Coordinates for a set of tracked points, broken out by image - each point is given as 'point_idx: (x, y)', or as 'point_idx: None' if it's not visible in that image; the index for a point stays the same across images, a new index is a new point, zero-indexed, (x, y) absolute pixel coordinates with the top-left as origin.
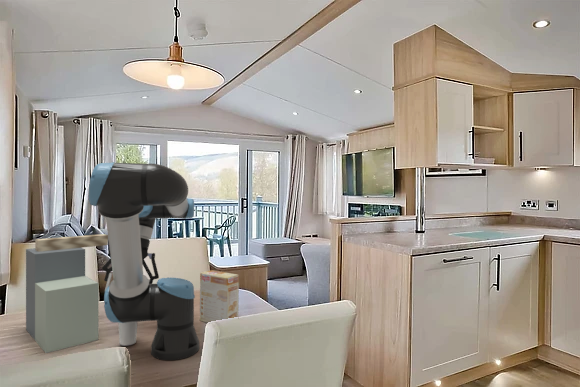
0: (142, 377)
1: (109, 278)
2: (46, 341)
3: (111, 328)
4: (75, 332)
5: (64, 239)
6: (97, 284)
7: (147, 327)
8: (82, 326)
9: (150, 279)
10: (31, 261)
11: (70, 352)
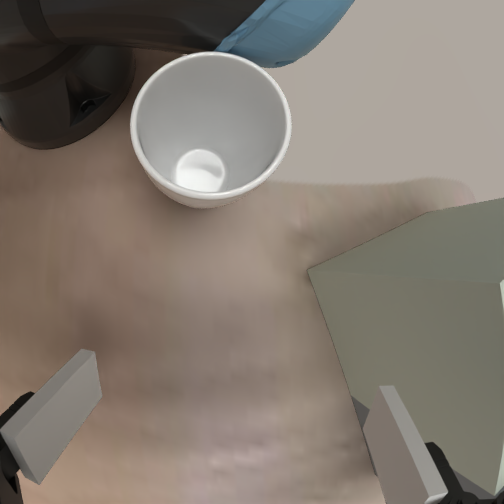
0: None
1: (418, 455)
2: (448, 208)
3: (264, 380)
4: (396, 237)
5: None
6: (494, 278)
7: (120, 344)
8: (388, 246)
9: (2, 442)
10: None
11: (374, 188)
